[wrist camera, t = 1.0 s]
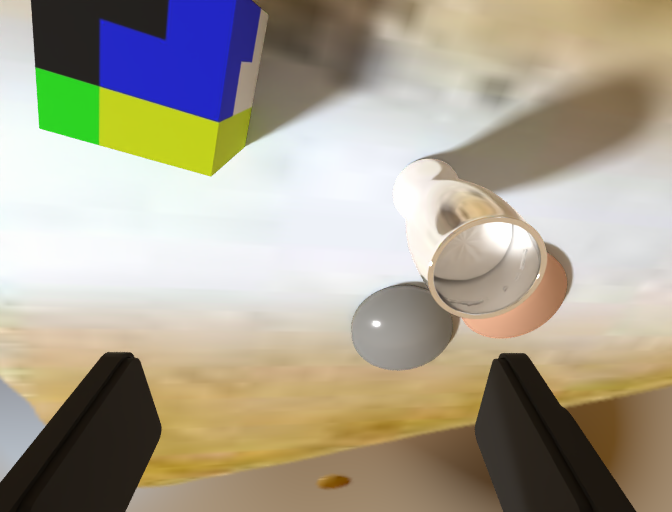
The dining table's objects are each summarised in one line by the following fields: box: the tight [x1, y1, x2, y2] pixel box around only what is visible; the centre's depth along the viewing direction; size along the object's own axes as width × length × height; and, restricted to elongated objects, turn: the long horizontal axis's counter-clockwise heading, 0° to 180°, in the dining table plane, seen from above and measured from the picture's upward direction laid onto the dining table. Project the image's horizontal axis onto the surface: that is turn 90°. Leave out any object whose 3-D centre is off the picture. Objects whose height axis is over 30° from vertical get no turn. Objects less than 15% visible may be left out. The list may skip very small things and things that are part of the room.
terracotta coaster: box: [462, 252, 567, 338], centre depth 38 cm, size 11×11×1 cm
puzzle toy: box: [31, 0, 269, 176], centre depth 24 cm, size 10×10×10 cm
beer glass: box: [393, 158, 547, 319], centre depth 27 cm, size 7×7×15 cm
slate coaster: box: [351, 285, 453, 370], centre depth 40 cm, size 11×11×1 cm
